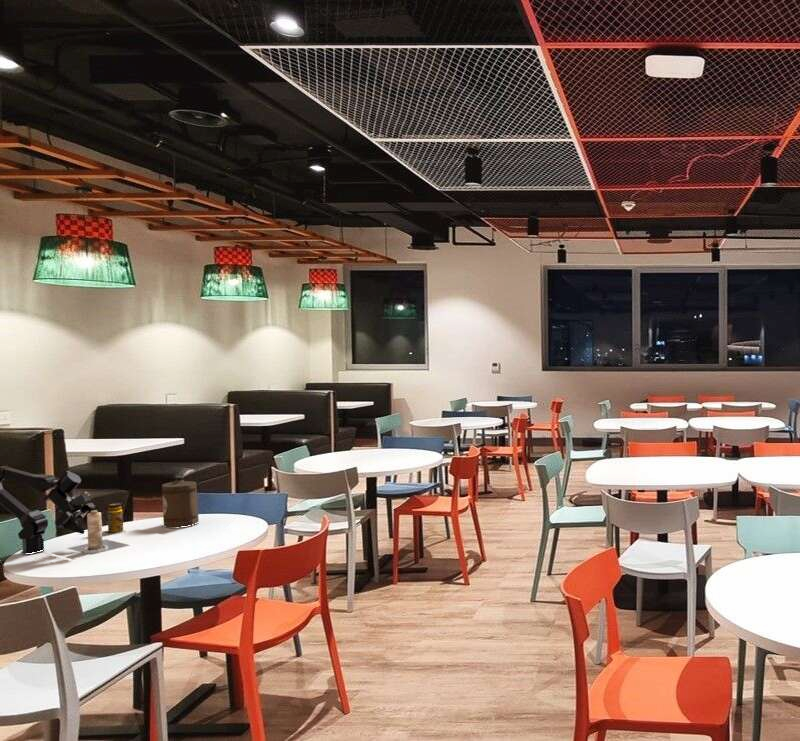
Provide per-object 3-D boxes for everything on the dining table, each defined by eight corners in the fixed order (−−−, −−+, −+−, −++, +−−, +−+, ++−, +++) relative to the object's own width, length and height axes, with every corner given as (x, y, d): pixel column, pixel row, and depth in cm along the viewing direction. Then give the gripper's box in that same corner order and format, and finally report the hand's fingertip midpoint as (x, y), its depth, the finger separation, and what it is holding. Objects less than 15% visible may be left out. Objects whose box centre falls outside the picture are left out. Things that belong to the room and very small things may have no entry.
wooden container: (170, 521, 333) (168, 472, 332) (203, 520, 332) (201, 471, 332) (158, 529, 318) (156, 478, 318) (192, 528, 317) (190, 477, 317)
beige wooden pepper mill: (90, 552, 277) (89, 512, 277) (86, 550, 281) (85, 511, 281) (104, 550, 280) (102, 510, 280) (100, 547, 284) (98, 509, 284)
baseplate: (91, 556, 274) (91, 551, 274) (67, 550, 286) (67, 545, 286) (130, 547, 287) (130, 542, 287) (105, 541, 298) (105, 536, 298)
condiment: (126, 532, 314) (124, 504, 314) (105, 535, 310) (103, 506, 309) (122, 529, 320) (120, 501, 320) (101, 532, 316) (100, 504, 315)
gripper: (61, 490, 272) (90, 520, 270) (89, 482, 290) (116, 510, 289) (42, 512, 273) (71, 542, 272) (72, 502, 292) (98, 530, 290)
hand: (90, 530), depth 281 cm, fingers open, 9 cm apart
